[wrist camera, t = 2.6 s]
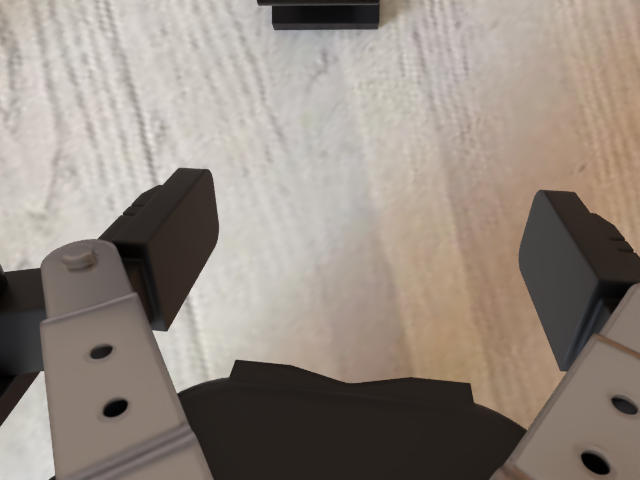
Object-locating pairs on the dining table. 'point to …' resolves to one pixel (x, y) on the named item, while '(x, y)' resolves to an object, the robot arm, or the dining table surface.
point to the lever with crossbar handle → (316, 2)
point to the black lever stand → (325, 17)
